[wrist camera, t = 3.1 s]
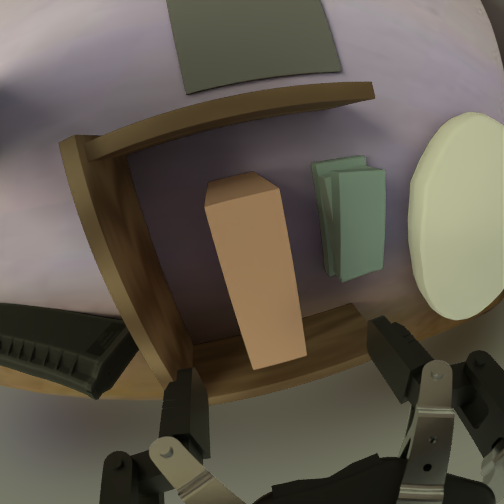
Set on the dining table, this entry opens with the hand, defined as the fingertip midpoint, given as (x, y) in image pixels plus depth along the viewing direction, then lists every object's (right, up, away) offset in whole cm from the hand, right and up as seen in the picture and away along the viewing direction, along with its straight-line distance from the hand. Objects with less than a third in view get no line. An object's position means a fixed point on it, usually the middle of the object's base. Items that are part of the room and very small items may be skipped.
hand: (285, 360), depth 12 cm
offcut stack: (+7, +9, +15) cm, 18 cm away
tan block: (-2, +6, +14) cm, 15 cm away
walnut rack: (-2, +6, +14) cm, 15 cm away
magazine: (-28, -3, +14) cm, 32 cm away
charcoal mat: (-2, +26, +6) cm, 27 cm away
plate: (+28, +10, +17) cm, 34 cm away
